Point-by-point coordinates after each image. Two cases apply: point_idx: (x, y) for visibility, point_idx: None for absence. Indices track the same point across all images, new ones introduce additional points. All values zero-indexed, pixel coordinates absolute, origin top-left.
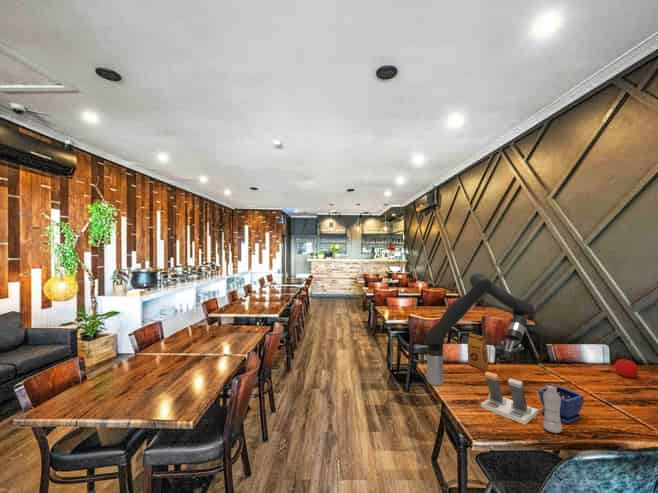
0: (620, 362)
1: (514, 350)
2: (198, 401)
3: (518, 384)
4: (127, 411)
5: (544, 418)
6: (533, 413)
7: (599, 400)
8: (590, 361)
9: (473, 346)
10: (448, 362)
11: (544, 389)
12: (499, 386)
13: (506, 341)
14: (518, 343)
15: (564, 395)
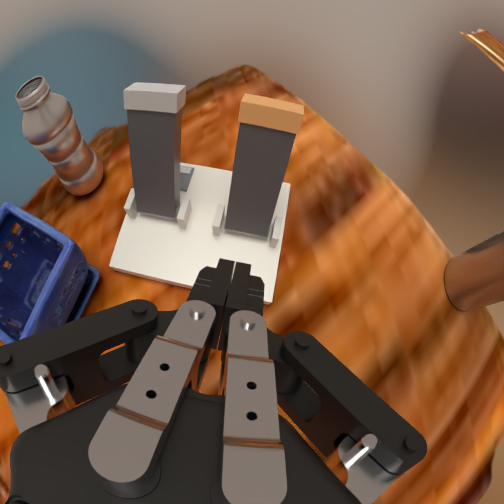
0: None
1: (122, 313)
2: (491, 58)
3: (142, 83)
4: (484, 40)
5: (93, 157)
6: (123, 222)
7: (8, 487)
8: None
9: None
10: (477, 484)
11: (51, 272)
12: (234, 162)
13: (291, 486)
14: (31, 432)
15: (10, 330)
